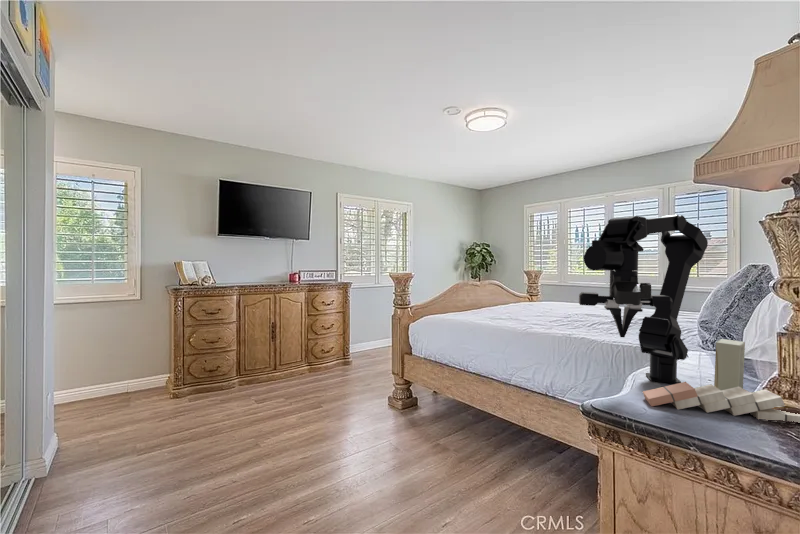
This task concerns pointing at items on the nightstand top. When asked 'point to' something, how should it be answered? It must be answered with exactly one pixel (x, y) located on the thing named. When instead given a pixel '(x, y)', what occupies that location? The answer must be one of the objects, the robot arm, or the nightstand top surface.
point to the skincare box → (729, 364)
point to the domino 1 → (669, 394)
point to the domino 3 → (776, 415)
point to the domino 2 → (730, 400)
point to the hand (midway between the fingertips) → (622, 337)
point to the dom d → (758, 403)
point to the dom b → (701, 397)
